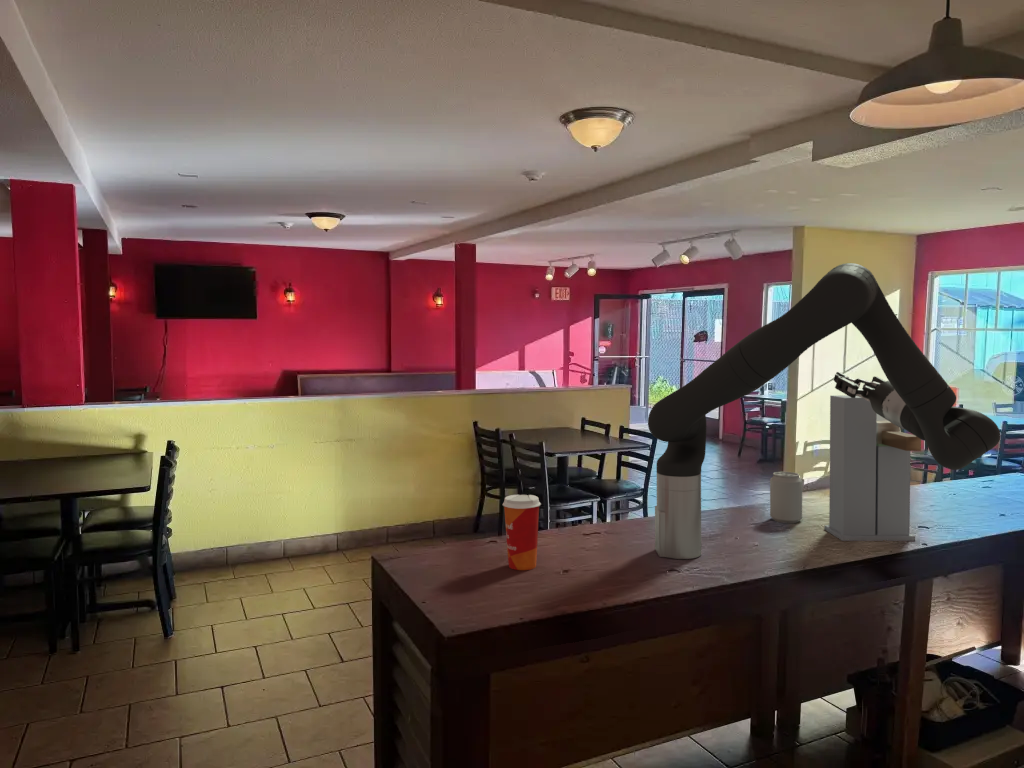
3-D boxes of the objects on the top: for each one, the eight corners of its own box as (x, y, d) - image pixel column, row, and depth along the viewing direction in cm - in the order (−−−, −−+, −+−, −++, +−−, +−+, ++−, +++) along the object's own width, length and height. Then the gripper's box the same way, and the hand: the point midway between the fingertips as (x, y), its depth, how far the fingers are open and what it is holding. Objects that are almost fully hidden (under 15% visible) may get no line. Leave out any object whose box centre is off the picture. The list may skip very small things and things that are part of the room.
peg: (902, 450, 150) (902, 428, 150) (867, 441, 166) (867, 420, 166) (925, 450, 150) (925, 428, 150) (888, 440, 166) (888, 420, 166)
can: (797, 525, 173) (797, 476, 172) (766, 521, 177) (766, 473, 177) (805, 519, 179) (805, 472, 178) (775, 515, 183) (775, 469, 183)
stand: (841, 540, 159) (843, 398, 157) (824, 529, 169) (825, 395, 167) (915, 540, 158) (917, 397, 156) (893, 529, 168) (894, 394, 166)
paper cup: (507, 559, 148) (506, 493, 147) (543, 561, 146) (542, 494, 146) (500, 571, 140) (499, 501, 139) (538, 573, 139) (537, 502, 138)
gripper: (942, 391, 135) (890, 365, 150) (874, 383, 133) (829, 358, 148) (929, 427, 137) (879, 398, 152) (862, 420, 135) (819, 391, 150)
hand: (854, 378), depth 150 cm, fingers open, 8 cm apart
